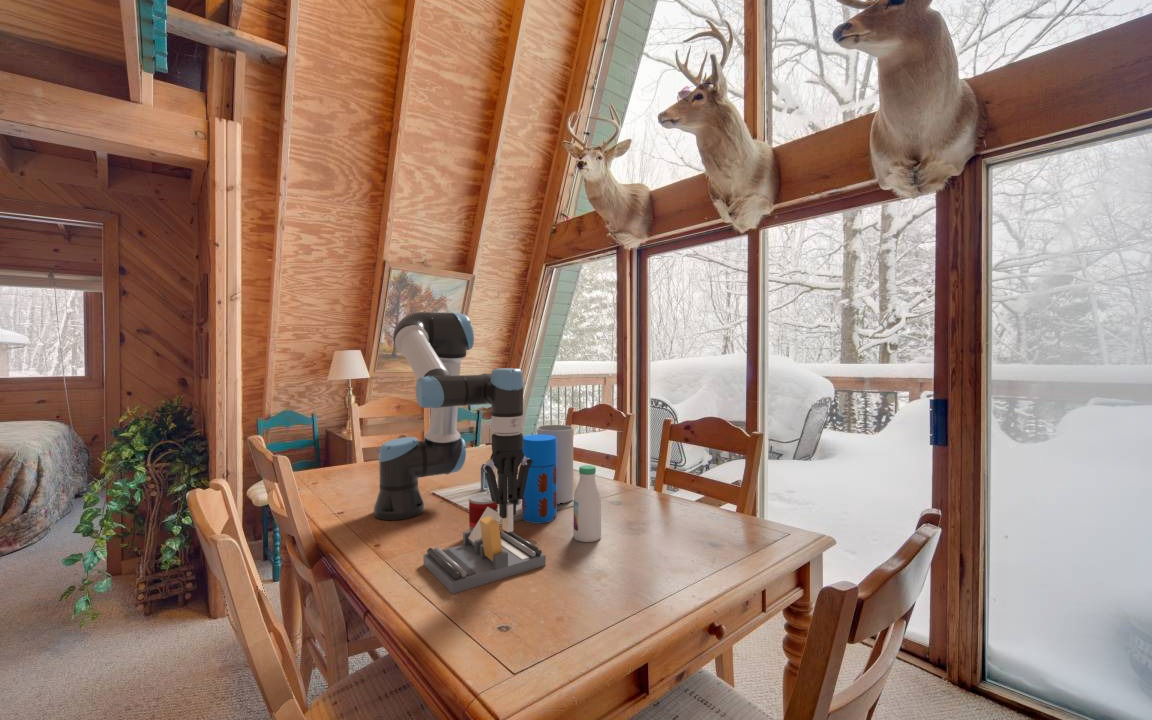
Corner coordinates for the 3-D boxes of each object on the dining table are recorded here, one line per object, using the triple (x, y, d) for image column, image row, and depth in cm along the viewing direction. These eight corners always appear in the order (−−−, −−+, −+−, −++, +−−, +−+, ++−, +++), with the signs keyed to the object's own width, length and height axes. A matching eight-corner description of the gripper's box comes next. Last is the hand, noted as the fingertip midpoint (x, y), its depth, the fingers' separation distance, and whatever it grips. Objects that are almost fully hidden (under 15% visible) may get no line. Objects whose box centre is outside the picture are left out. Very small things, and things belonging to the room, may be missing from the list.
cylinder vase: (541, 493, 184) (541, 424, 183) (575, 494, 182) (575, 425, 181) (533, 504, 171) (533, 430, 170) (570, 505, 170) (570, 431, 169)
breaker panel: (423, 564, 125) (423, 541, 125) (509, 541, 139) (509, 521, 139) (452, 594, 110) (452, 568, 110) (545, 565, 124) (545, 542, 124)
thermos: (561, 513, 162) (561, 435, 161) (549, 525, 152) (548, 441, 151) (530, 509, 166) (530, 433, 165) (516, 520, 155) (515, 439, 155)
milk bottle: (605, 535, 144) (605, 465, 143) (594, 544, 137) (594, 471, 136) (580, 530, 147) (580, 462, 147) (568, 540, 140) (568, 468, 140)
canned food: (492, 542, 139) (491, 502, 138) (464, 540, 140) (464, 500, 140) (501, 532, 146) (501, 494, 146) (475, 530, 148) (475, 492, 147)
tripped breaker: (484, 558, 122) (479, 519, 121) (493, 554, 123) (488, 515, 122) (494, 565, 118) (489, 525, 117) (503, 561, 119) (498, 521, 118)
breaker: (466, 540, 130) (487, 506, 133) (473, 544, 131) (494, 510, 134) (474, 547, 126) (496, 511, 129) (481, 551, 127) (503, 515, 130)
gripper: (490, 438, 115) (490, 541, 116) (538, 432, 123) (539, 528, 123) (475, 433, 121) (476, 531, 122) (523, 427, 129) (523, 520, 129)
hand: (507, 529), depth 123 cm, fingers closed
